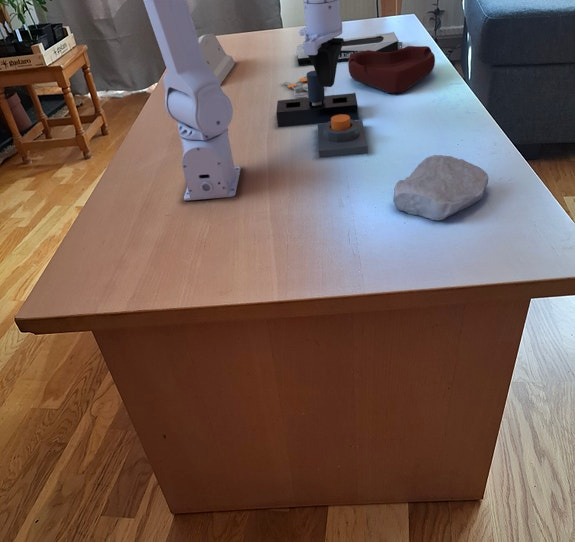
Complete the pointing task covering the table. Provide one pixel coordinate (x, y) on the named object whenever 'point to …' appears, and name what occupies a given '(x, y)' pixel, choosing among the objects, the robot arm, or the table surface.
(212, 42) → the hinge
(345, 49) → the graphics card
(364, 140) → the station
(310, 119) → the holder
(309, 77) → the grey and white cylinder
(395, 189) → the stone block
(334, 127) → the power button
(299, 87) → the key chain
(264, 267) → the table surface
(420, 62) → the ashtray
